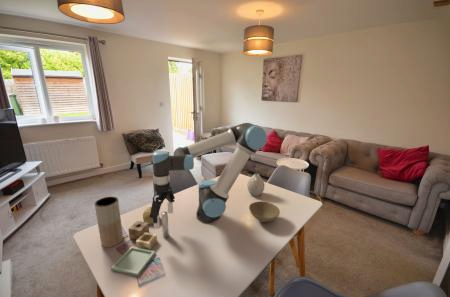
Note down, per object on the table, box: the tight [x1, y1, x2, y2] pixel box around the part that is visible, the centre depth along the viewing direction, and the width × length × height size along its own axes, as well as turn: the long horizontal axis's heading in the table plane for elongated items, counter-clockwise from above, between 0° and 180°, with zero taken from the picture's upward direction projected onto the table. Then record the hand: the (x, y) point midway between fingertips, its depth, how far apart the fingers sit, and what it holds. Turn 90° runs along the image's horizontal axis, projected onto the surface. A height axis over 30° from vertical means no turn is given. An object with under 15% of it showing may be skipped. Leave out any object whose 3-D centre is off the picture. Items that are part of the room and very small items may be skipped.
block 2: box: [135, 232, 158, 250], centre depth 101 cm, size 7×7×4 cm
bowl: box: [248, 200, 281, 223], centre depth 122 cm, size 18×18×8 cm
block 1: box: [128, 220, 150, 241], centre depth 107 cm, size 7×7×6 cm
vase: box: [246, 173, 265, 197], centre depth 153 cm, size 13×13×17 cm
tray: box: [110, 245, 156, 277], centre depth 91 cm, size 13×13×2 cm
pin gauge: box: [161, 211, 170, 239], centre depth 106 cm, size 3×3×14 cm
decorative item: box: [142, 206, 160, 225], centre depth 121 cm, size 10×10×10 cm
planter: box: [94, 195, 124, 248], centre depth 101 cm, size 10×10×23 cm
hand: (164, 220), depth 105 cm, fingers open, 13 cm apart
